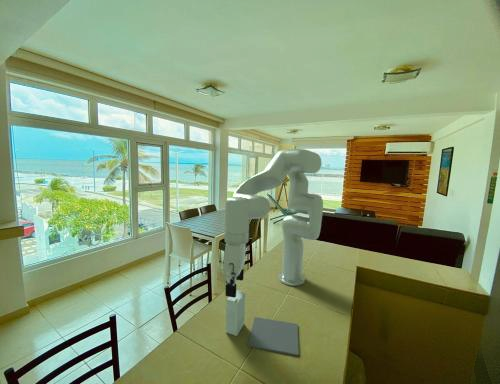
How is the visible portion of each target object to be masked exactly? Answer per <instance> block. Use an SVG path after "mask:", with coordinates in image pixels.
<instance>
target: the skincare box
mask: <svg viewBox="0 0 500 384" xmlns="http://www.w3.org/2000/svg"><path fill="white" fill-rule="evenodd" d="M227 297H228V296H227ZM245 307H246V292H245V291H241V290H238V289H236V297H228V298H227V299H226V307H225V308H226V311H225V313H226V314H225V333H227V334H230V335H233V336H235V337H237V336H238V335H239V333H240V331H241V330H242V328H243V327H244V324H245V315H246V314H245V310H246V308H245Z"/></svg>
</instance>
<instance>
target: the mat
mask: <svg viewBox="0 0 500 384" xmlns="http://www.w3.org/2000/svg"><path fill="white" fill-rule="evenodd" d="M248 339H249V340H248V344H247V347H248V348H254V349H259V350H263V351H268V352H269V351H270V352H272V353H273V352H274V353H279V354H286V355H290V356H294V357H299V354H300V353H299V329H298V323H295V322H288V321H281V320H275V319H270V318H263V317H258V316H254V318H253V323H252V327H251V331H250V335H249V338H248Z"/></svg>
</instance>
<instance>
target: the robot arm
mask: <svg viewBox="0 0 500 384" xmlns="http://www.w3.org/2000/svg"><path fill="white" fill-rule="evenodd" d="M321 167H322V158H321V156H320V155H319V154H318V153H317V152H314V151H311V150H308V149H304V148H287V149H281V150H278V151H277V152H276V153H275V154H274V156H273V157H272V158H271V159H270V161H269V163H268V164H267V165H266V166H265V168H264V169H263V170H262V171H261V172H259V173H256V174H255V175H253V176H251V177H250V178H248V179H246V180H245V181H244V182H242V183H241V184H240V185H239V186H238V188H236V190H235V191H234V193H233V194H232V196H230V197H228V198H226V200H225V204H224V205H225V207H224V208H225V210H224V242H225V247H224V248H225V249H224V254H223V255H224V256H223V257H224V258H223V269H222V274H223V275H224V276H225V291H224V292H225V297H236V290H237V283H236V282H237V281H244V275H245V274H244V272H245V269H244V267H245V262H246V244H247V243H248V242H249V231H250V230H249V229H250V220H252V219H253V220H254V219H263V218H266V216H267V215H268V214H269V212H270V210H271V203H270V201H269V200H268V199H267V198H266V197H264V196H262V195H257V194H259V193H262V192H266V191H269V190H273V189H276V188H278V187H280V186H281V185H282V184H283V182H284V181H285V179H286V178H287V176H288V179H289V189H288V190H289V191H288V198H287V208H288V210H289V211H291V212H293V213H298V214H303V215H307V217H306V216H302V215H296V214H288V215H285V216H284V217H283V218H282V222H281V229H282V235H283V236H282V238H283V239H282V241H283V242H282V261H281V262H282V263H281V265H282V266H281V271H280V272H279V273H278V277H277V278H278V279H279V281H280V282H281V283H283V284H285V285H287V286H292V287H294V286H295V287H296V286H301V285H303V284H304V283H305V281H306V278H305V275H303V261H304V242H303V239H306V240H309V241H315V240H318V238H319V237H320V234H321V228H322V221H323V213H324V212H323V211H324V200H323V198H322V196H321V195H320V194H317V193H309V183H310V182H309V180H308V177H307V176H306V174H317V173H318V172H319V171H320V170H321ZM308 216H309V217H308ZM302 238H303V239H302ZM232 277H233V279H232Z"/></svg>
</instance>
